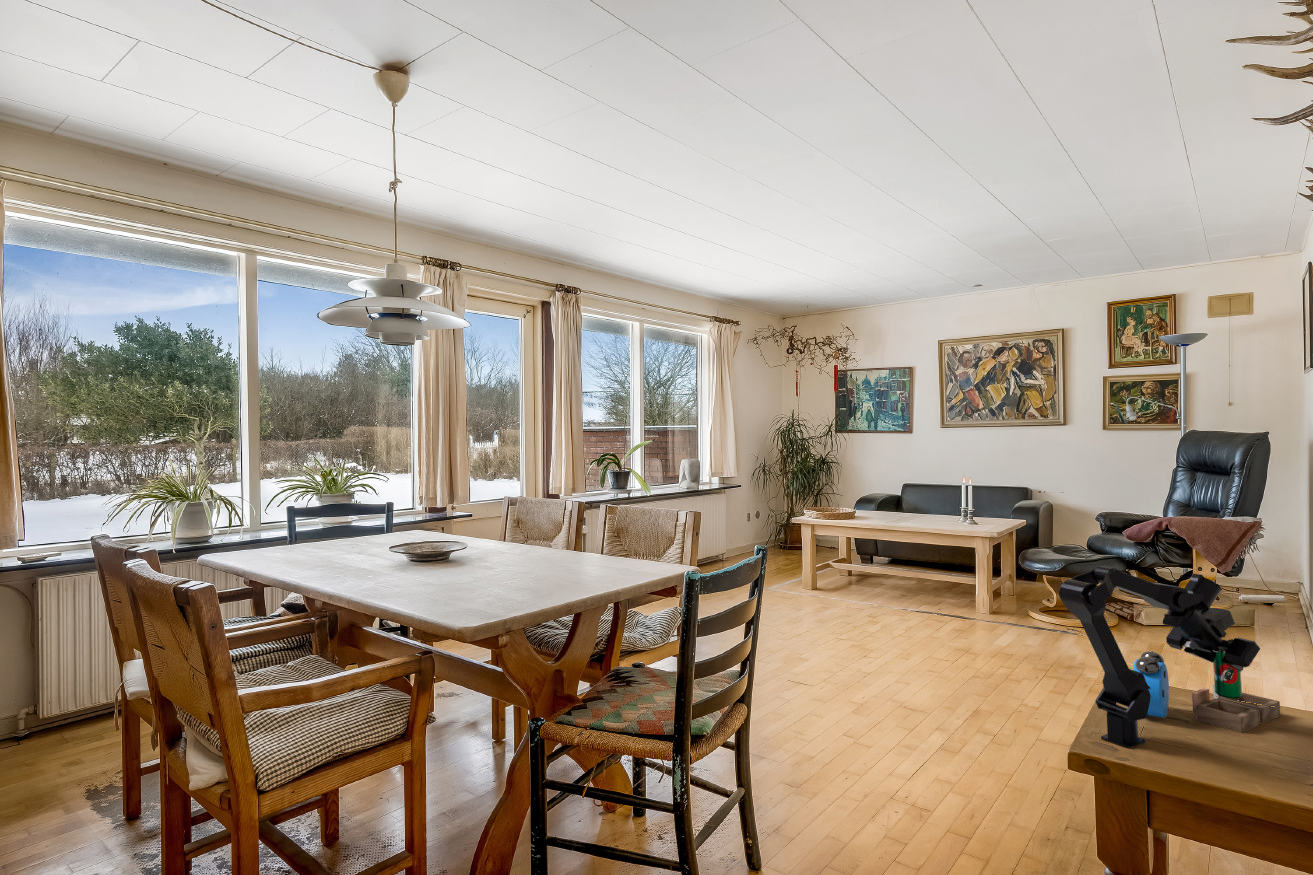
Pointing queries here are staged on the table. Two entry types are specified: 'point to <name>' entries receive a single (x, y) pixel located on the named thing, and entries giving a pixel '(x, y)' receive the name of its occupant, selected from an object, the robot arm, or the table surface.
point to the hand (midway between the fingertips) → (1230, 666)
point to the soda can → (1226, 678)
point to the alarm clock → (1155, 682)
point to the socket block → (1233, 710)
